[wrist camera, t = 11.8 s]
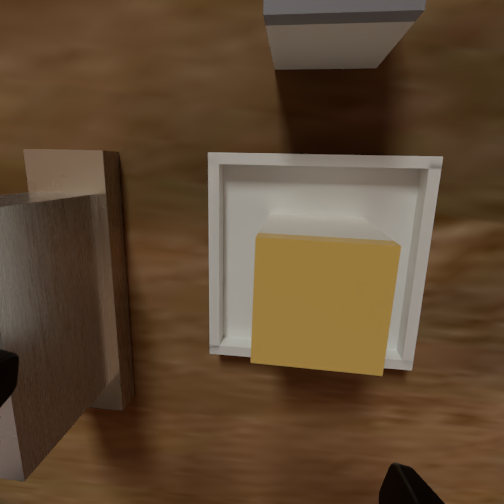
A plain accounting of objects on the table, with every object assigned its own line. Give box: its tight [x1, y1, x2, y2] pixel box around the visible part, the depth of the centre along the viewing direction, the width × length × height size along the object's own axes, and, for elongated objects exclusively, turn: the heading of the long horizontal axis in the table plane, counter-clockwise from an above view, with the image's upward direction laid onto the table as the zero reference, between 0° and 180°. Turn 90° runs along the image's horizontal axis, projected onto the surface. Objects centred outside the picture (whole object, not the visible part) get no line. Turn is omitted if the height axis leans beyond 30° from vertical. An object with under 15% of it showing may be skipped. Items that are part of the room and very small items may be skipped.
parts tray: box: [208, 152, 443, 370], centre depth 17 cm, size 10×10×2 cm
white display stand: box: [0, 149, 134, 481], centre depth 15 cm, size 14×4×9 cm, turn 179°
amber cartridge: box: [250, 213, 401, 376], centre depth 14 cm, size 4×4×6 cm
